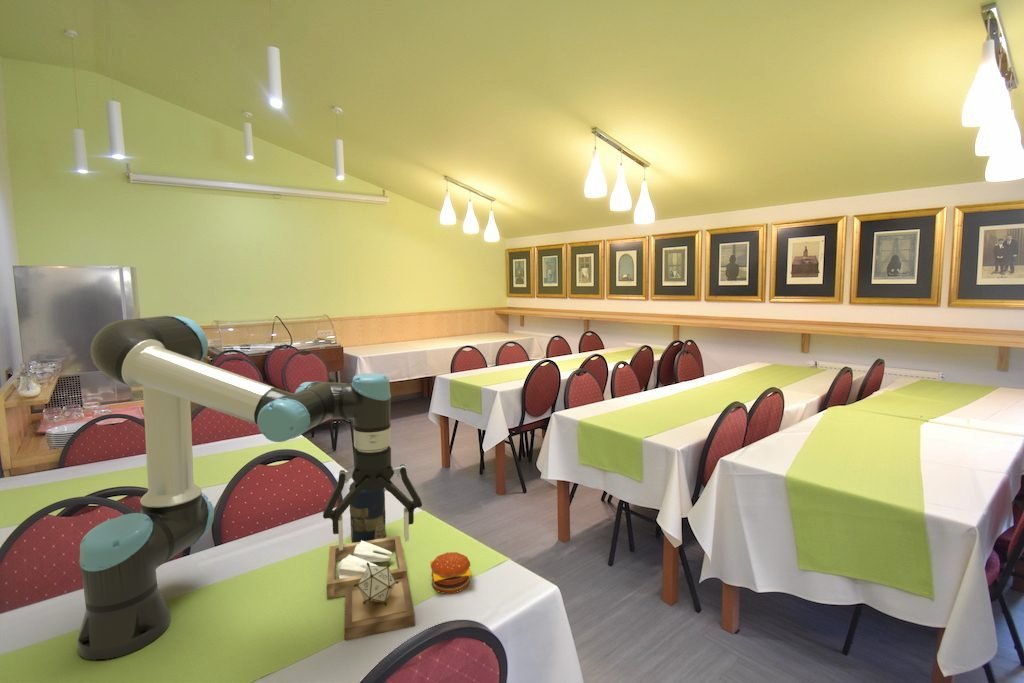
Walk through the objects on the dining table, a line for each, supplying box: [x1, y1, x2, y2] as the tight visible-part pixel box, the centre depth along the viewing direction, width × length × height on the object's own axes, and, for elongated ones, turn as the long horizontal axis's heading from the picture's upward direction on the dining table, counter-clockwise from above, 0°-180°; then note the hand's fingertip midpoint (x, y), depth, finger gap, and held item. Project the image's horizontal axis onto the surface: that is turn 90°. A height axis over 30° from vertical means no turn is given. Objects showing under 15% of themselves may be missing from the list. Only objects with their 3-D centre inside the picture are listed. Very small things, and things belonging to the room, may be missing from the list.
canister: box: [348, 480, 387, 543], centre depth 140 cm, size 10×10×18 cm
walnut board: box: [343, 577, 416, 641], centre depth 110 cm, size 14×14×3 cm
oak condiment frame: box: [326, 535, 408, 600], centre depth 126 cm, size 18×18×4 cm
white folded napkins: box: [336, 540, 394, 579], centre depth 126 cm, size 12×4×11 cm
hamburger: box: [429, 551, 472, 594], centre depth 121 cm, size 9×10×7 cm
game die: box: [353, 562, 399, 606], centre depth 110 cm, size 9×8×10 cm
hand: (374, 542), depth 109 cm, fingers open, 13 cm apart
